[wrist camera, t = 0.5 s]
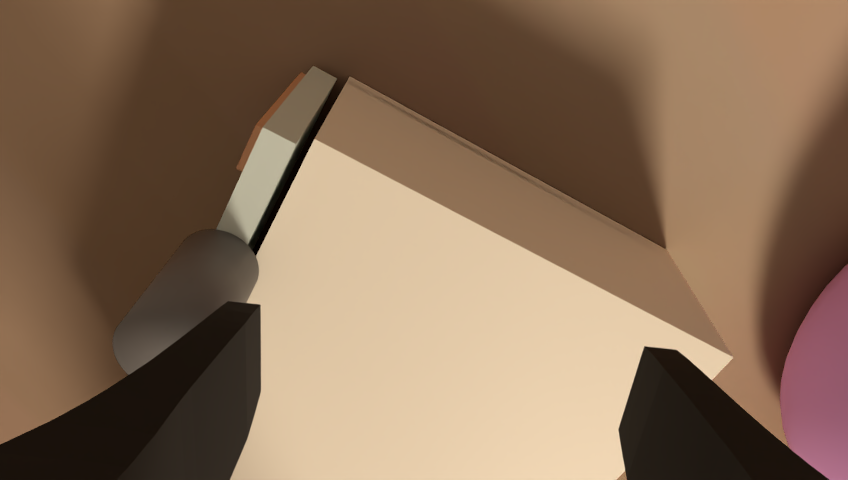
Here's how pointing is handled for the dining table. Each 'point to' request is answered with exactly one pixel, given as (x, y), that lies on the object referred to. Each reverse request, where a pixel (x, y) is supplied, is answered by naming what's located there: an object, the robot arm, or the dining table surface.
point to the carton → (450, 314)
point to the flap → (225, 232)
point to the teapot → (820, 383)
